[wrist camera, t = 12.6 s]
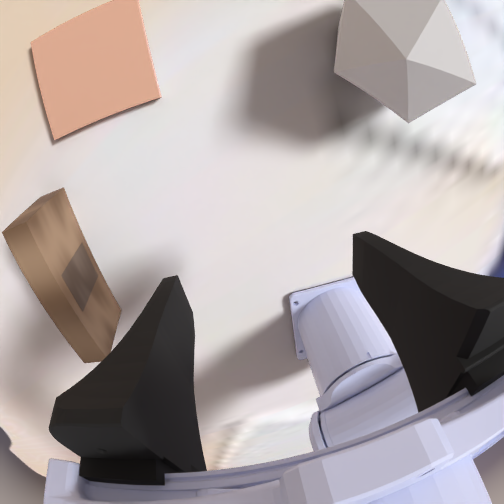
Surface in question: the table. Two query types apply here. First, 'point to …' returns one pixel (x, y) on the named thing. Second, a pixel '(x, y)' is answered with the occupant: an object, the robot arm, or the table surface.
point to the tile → (95, 66)
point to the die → (403, 53)
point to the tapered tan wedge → (65, 275)
